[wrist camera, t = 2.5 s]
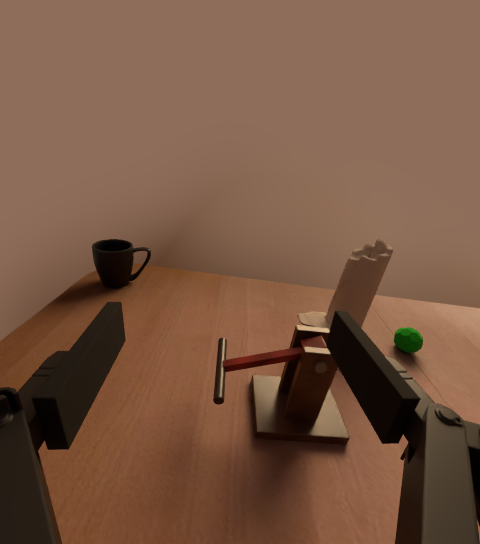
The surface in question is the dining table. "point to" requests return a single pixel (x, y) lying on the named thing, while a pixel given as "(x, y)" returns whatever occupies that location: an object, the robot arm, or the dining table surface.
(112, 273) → the mug
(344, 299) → the candle
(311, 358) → the rod stand
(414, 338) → the polyhedron
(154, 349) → the dining table surface
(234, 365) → the red lever
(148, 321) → the dining table surface
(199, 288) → the dining table surface
